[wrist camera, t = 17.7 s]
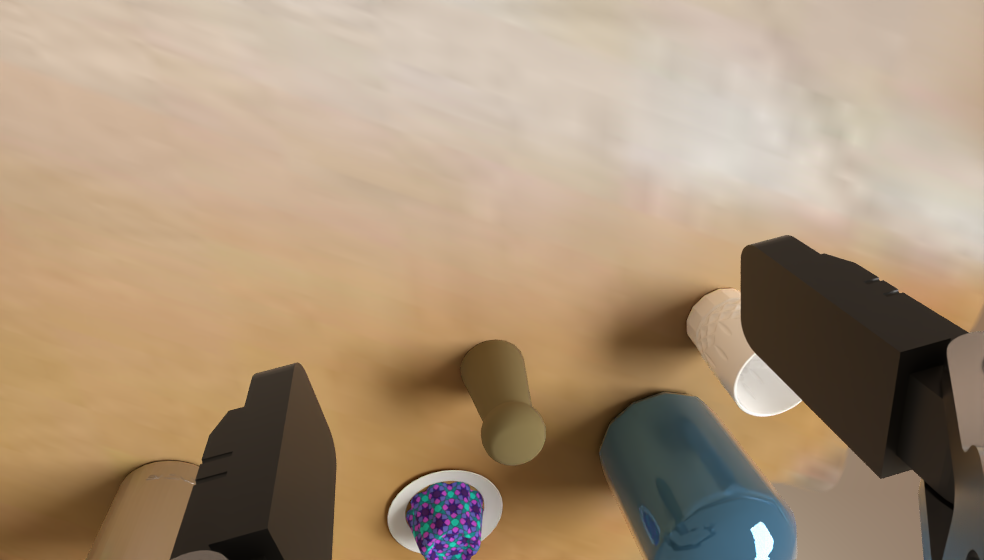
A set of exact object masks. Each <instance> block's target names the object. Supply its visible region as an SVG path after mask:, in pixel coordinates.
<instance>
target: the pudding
mask: <svg viewBox="0 0 984 560" xmlns="http://www.w3.org/2000/svg"><path fill="white" fill-rule="evenodd" d="M442 481H460V482H455V483H452V484H450V485H449V484H446V483H444V482H442ZM437 482H441V483H437ZM434 483H435V484H434ZM466 483H467V484H466ZM431 484H433V485H431ZM468 484H470V485H471V486H473V487H475V488H476V489H477V490H478V491H479V492H480V493H481V494H480V493H479V492H478V491H473V490H470V487H469V485H468ZM428 485H431V486H429V488H428V489H427V491H426V492H421V493H418V494H416V493H417V492H418V491H420V490H421V489H423V488H425V487H427V486H428ZM415 494H416V495H415ZM414 495H415V496H414ZM413 496H414V497H413ZM412 497H413V498H412ZM482 497H483V499H484V512H483V508H482V503H483V499H482ZM411 498H412V500H411ZM410 500H411V502H410V503H411V506H412V508H411V509H410V510H409V511H408V512H407V514H406V518H405V511H406V507H407V505H408V503H409V501H410ZM502 508H503V503H502V497H501V495H500V493H499V491H498V489H497V488H496V486H495V485H494V484H493V483H492V482H490V481H489V480H488V479H486V478H485V477H483V476H481V475H478V474H476V473H473V472H468V471H462V470H448V471H440V472H435V473H431V474H428V475H426V476H423V477H421V478H419V479H417V480H415V481H413V482H412V483H410V484H409V485H407V486H406V487H405V488H404V489H403V490H401V491H400V492H399V493H398V495H397V496H396V497H395V499H394V500H393V502H392V504H391V506H390V508H389V512H388V526H389V530H390V532H391V534H392V536H393V537H394V538H395V539H396V541H397V542H398V543H400V544H401V545H402V546H404V547H405V548H407V549H409V550H411V551H414V552H418V553H421V554H422V555H423V556H424V557H425V560H470V559H471V556H473V555H475V554H476V553H477V551H478V550H479V548H480V543H481V541H482V540H483V539H485V538H486V537H487V536H488V535H489V534H490V533H491V532H492V531H493V529H494V528H495V527H496V525H497V524H498V522H499V520H500V517H501V514H502ZM406 519H407V521H408V524H409V526H410V527H409V526H408V524H407V522H406Z"/></svg>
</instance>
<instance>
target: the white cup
mask: <svg viewBox="0 0 984 560" xmlns="http://www.w3.org/2000/svg"><path fill="white" fill-rule="evenodd" d="M687 335H688V336H689V338H690V339H691V341H692V342H693V343H694V345H695V346H696V348H697V349H698V350H699V352H700V355H701V356H702V358H703V359H704V360H705V362H706V363H707V365H708V366H709V368H710V369H711V370H712V372H713V373H714V375H715V376H716V377H717V379H718V380H719V381H720V383H721V384H722V385H723V387H724V388H725V389H726V390H727V392H728V393H729V395H730V396H731V397H732V399H733V400H734V401H735V403H736V404H737V405H738V407H739V408H740V409H741V410H743V411H744V412H746V413H748V414H750V415H753V416H762V417H763V416H772V415H777V414H780V413H782V412H785V411H787V410H789V409H791V408H793V407H794V406H796V405H797V404H799V403H800V402H801V401H802V400H801V399H800V398H799V397H798V396H797V395H796V394H795V393H794V392H793V391H792V390H791V389H790V388H789V387H788V386H787V385H786V384H785V383H784V382H783V381H782V380H781V379H780V378H779V377H778V376H777V375H776V374H775V373H774V372H773V371H772V370H771V369H770V368H769V367H768V366H767V365H766V364H765V363H764V362H763V361H762V360H761V359H760V358H759V357H758V356H757V355H756V354H755V352H754V351H753V350H752V349H751V347H750V346H749V344H748V343H747V340H746V338H745V336H744V333H743V330H742V326H741V291H738V290H736V289H734V288H728V289H717V290H715V291H713V292H711V293H709V294H707V295H705V296H703V297H702V298H701V299H700V300H699V301H698V302H697V303H696V304H695V305H694V306H693V307H692V310H691V312H690V314H689V316H688V318H687Z"/></svg>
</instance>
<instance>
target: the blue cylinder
mask: <svg viewBox="0 0 984 560" xmlns="http://www.w3.org/2000/svg"><path fill="white" fill-rule="evenodd" d="M599 456H600V460H601V464H602V468H603V472H604V476H605V479H606V481H607V483H608V485H609V487H610V489H611V491H612V493H613V496H614V498H615V500H616V502H617V504H618V506H619V508H620V511H621V513H622V515H623V517H624V519H625V521H626V523H627V525H628V528H629V530H630V532H631V534H632V536H633V538H634V540H635V543H636V545H637V547H638V549H639V551H640V553H641V555H642V557H643V560H796V558H797V533H796V522H795V518H794V514H793V512H792V510H791V509H790V507H789V506H788V505H787V503H786V502H785V501H784V500H783V498H782V497H781V496H780V495H779V493H778V492H777V491H776V489H775V488H774V487H773V485H772V484H771V483H770V482H769V480H768V479H767V478H766V476H765V475H764V474H763V473H762V471H761V470H760V469H759V467H758V466H757V465H756V464H755V462H754V461H753V460H752V459H751V457H750V456H749V455H748V453H747V452H746V451H745V450H744V448H743V447H742V446H741V444H740V443H739V442H738V441H737V439H736V438H735V437H734V435H733V434H732V433H731V432H730V430H729V429H728V428H727V427H726V425H725V424H724V423H723V421H722V420H721V419H720V418H719V416H718V415H717V414H716V413H715V412H714V411H713V410H712V409H711V408H709V407H708V406H707V405H706V404H705V403H704V402H703V401H701V400H700V399H699V398H698V397H696V396H693V395H689V394H680V393H671V392H661V393H658V394H655V395H652V396H649V397H646V398H644V399H641V400H638V401H635V402H633V403H632V404H630V405H629V406H628V407H627V408H626V409H625V410H624V411H622V412H621V413H620V414H619V415H618V416H617V417H616V418H615V419H613V420H612V421H611V422H610V423H609V426H608V428H607V431H606V433H605V436H604V438H603V440H602V443H601V445H600V449H599Z"/></svg>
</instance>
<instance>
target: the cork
mask: <svg viewBox="0 0 984 560" xmlns="http://www.w3.org/2000/svg"><path fill="white" fill-rule="evenodd" d="M460 370H461V377H462V379H463V381H464V383H465V386H466V388H467V390H468V392H469V394H470V396H471V398H472V400H473V402H474V404H475V406H476V408H477V411H478V413H479V415H480V417H481V419H482V421H483V424H482V428H481V438H482V444H483V446H484V448H485V450H486V452H487V453H488V455H489V456H490V457H491V458H493V459H494V460H495V461H497V462H499V463H501V464H504V465H512V466H515V465H520V464H524V463H526V462H528V461H530V460H532V459H533V458H534V457H536V456H537V455H538V453H539V452H540V451H541V450H542V448H543V445H544V442H545V440H546V426H545V424H544V422H543V419H542V417H541V415H540V414H539V413H538V411H537V410H536V409H534V408H533V407H532V404H531V398H530V392H529V387H528V381H527V375H526V369H525V363H524V358H523V356H522V354H521V351H520V350H519V349H518V348H517V347H516V346H515V345H513V344H511V343H509V342H507V341H502V340H490V341H485V342H483V343H480V344H478V345H476V346H475V347H473V348H472V349H471V350H470V351H468V353H467V354H466V356H465V357H464V358H463V360H462V364H461V367H460Z"/></svg>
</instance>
